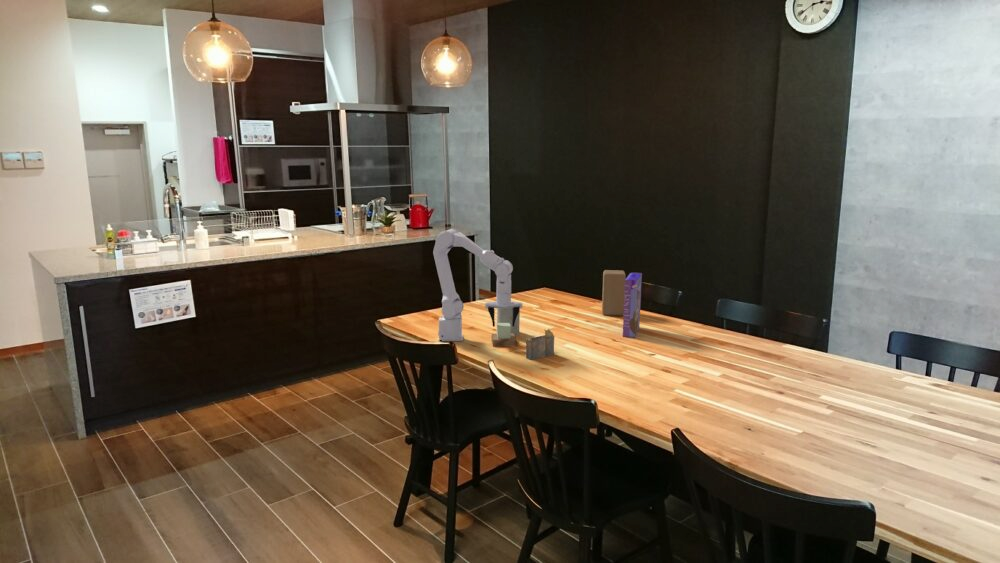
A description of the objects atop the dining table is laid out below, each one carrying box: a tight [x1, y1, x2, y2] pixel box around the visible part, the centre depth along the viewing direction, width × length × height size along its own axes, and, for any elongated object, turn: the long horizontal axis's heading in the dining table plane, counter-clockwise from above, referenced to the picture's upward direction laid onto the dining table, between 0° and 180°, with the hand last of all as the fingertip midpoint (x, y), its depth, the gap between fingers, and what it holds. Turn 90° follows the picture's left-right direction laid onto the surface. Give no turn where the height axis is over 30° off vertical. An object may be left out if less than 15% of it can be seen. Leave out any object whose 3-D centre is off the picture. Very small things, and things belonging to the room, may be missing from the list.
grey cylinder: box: [496, 308, 521, 336], centre depth 261 cm, size 10×10×12 cm
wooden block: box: [601, 269, 627, 317], centre depth 294 cm, size 10×10×20 cm
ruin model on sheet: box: [525, 328, 555, 361], centre depth 231 cm, size 11×3×10 cm, turn 128°
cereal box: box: [622, 272, 643, 339], centre depth 263 cm, size 17×5×24 cm, turn 161°
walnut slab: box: [491, 333, 517, 347], centre depth 248 cm, size 9×9×2 cm
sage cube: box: [496, 322, 511, 339], centre depth 247 cm, size 5×5×5 cm
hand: (503, 325), depth 247 cm, fingers open, 7 cm apart
